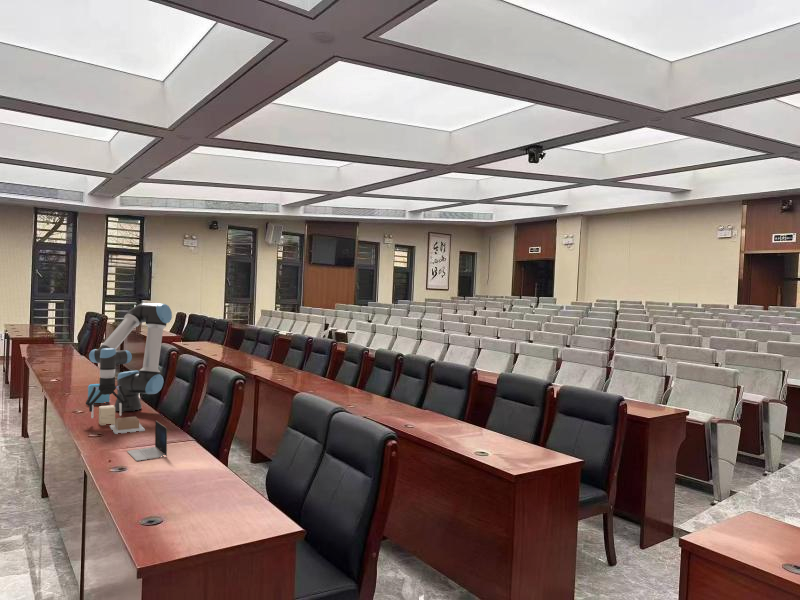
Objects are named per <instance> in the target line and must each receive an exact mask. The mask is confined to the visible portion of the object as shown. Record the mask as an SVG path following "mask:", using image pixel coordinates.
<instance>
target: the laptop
mask: <svg viewBox="0 0 800 600" xmlns="http://www.w3.org/2000/svg"><path fill="white" fill-rule="evenodd" d="M154 424H155V429H154V430H155V437H154V438H155V439H154V440H155V441H154V446H152V447H146V448H145V447H144V448H136V449H131V450H130V449H129V450H127V451H126V452H127V453H128V454H129V455H130V456H131V457H132V458H133V459H134V460H135V461H136V462H140V461H141V460H142V461H148V460H147V459H150V460H154V459H153V458H158V459H160V458H159V457H161V456H162V457H164V456H163V455H166V457H168V427H166V426H165V425H163V424H162V423H161V422H159V421H158V420H155V423H154ZM142 461H141V462H142Z"/></svg>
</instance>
